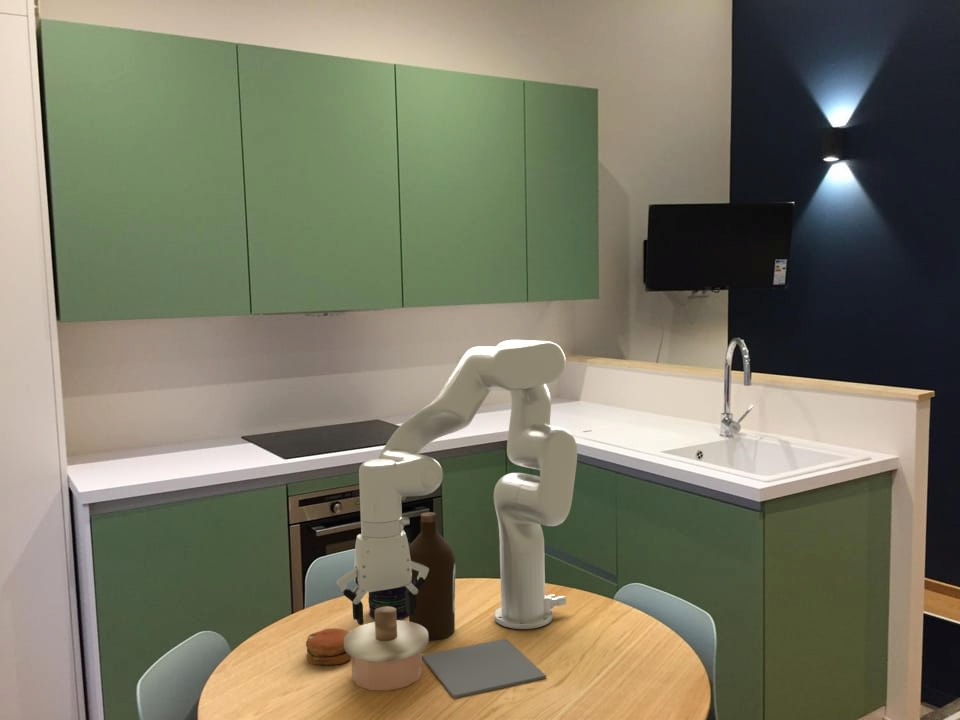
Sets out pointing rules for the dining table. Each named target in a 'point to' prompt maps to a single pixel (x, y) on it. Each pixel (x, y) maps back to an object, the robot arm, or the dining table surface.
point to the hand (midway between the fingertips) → (385, 617)
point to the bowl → (386, 672)
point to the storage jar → (389, 601)
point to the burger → (327, 647)
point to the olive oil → (434, 580)
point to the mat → (482, 667)
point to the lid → (386, 638)
